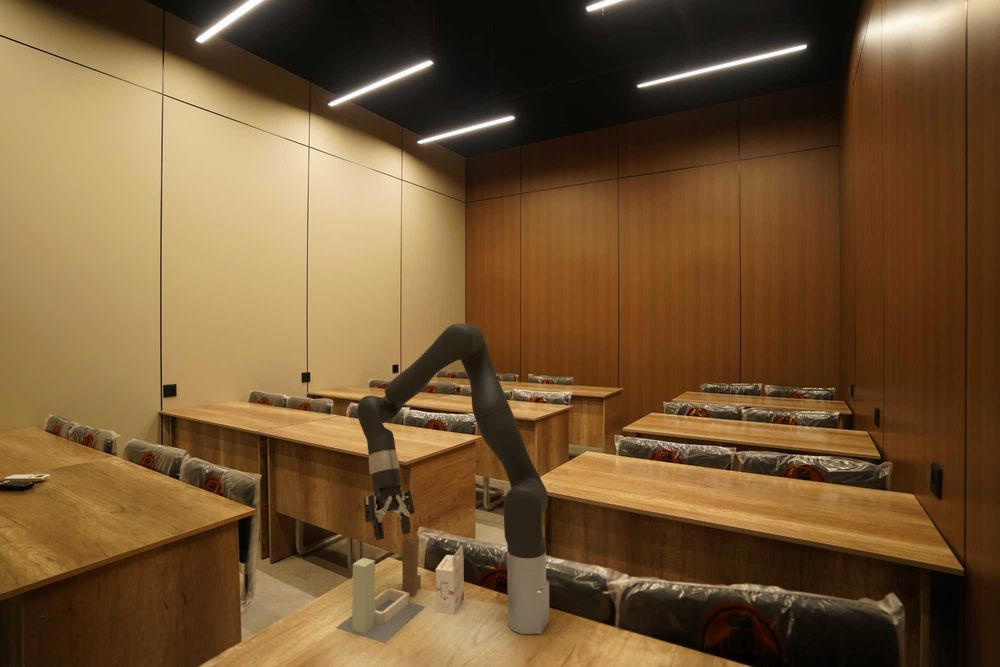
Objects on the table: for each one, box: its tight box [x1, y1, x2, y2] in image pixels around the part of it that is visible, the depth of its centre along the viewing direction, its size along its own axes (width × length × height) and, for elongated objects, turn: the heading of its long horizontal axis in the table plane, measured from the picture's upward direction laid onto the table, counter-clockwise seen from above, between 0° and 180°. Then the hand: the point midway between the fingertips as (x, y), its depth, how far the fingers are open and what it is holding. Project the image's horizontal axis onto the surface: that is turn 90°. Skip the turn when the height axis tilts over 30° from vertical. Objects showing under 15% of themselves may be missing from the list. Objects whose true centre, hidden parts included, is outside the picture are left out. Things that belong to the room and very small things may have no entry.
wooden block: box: [401, 537, 422, 598], centre depth 127 cm, size 7×3×15 cm, turn 175°
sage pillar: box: [352, 557, 376, 634], centre depth 110 cm, size 4×4×15 cm
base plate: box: [335, 587, 426, 644], centre depth 114 cm, size 14×16×4 cm
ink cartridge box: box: [435, 544, 465, 615], centre depth 120 cm, size 9×5×15 cm, turn 168°
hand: (393, 536), depth 118 cm, fingers open, 8 cm apart
